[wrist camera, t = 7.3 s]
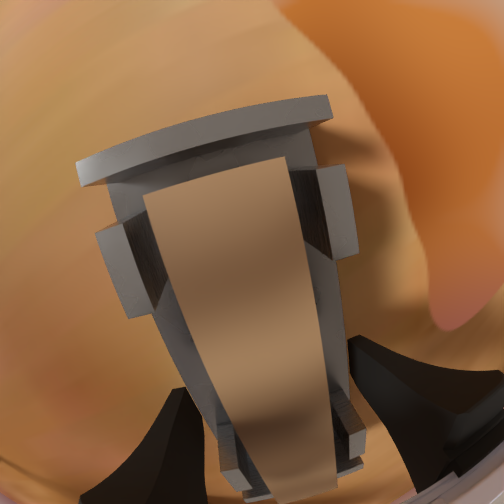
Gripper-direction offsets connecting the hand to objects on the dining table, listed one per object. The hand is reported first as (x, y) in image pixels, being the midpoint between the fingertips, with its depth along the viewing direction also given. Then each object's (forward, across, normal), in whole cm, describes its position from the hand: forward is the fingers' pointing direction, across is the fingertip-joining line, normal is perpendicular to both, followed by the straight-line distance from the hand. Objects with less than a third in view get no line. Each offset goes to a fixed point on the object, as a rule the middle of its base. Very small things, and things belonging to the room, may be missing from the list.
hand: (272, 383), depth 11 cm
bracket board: (+4, 0, 0) cm, 4 cm away
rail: (+3, 0, 0) cm, 3 cm away
